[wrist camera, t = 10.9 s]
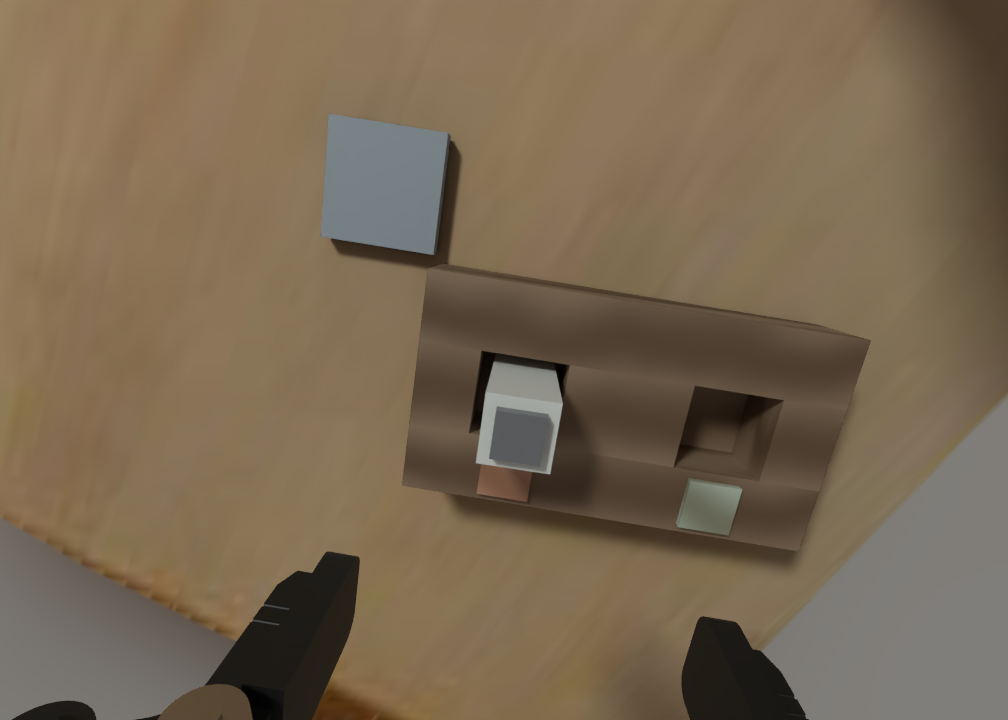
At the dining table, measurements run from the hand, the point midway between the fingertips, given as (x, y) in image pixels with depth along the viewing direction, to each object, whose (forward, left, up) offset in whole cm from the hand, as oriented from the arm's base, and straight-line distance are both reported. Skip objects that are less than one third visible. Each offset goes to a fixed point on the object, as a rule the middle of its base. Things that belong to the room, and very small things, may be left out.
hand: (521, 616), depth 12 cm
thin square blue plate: (-10, -10, -22) cm, 26 cm away
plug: (0, 0, -21) cm, 21 cm away
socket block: (0, +6, -22) cm, 23 cm away
